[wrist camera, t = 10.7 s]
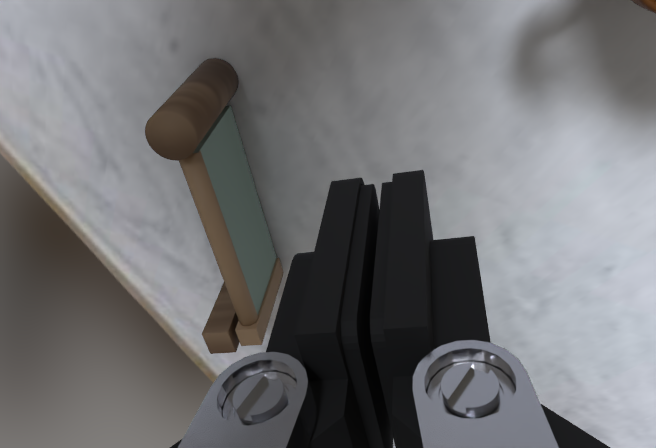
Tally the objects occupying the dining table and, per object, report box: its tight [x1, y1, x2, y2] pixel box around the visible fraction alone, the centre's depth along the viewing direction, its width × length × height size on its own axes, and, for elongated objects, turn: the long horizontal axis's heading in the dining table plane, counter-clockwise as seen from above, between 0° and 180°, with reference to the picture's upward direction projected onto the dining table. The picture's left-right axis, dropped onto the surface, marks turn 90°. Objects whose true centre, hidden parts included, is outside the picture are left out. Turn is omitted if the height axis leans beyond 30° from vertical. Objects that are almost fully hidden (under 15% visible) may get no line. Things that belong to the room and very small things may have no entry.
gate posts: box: [145, 58, 240, 354], centre depth 41 cm, size 19×3×9 cm, turn 5°
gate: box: [179, 105, 283, 346], centre depth 41 cm, size 15×2×8 cm, turn 11°
